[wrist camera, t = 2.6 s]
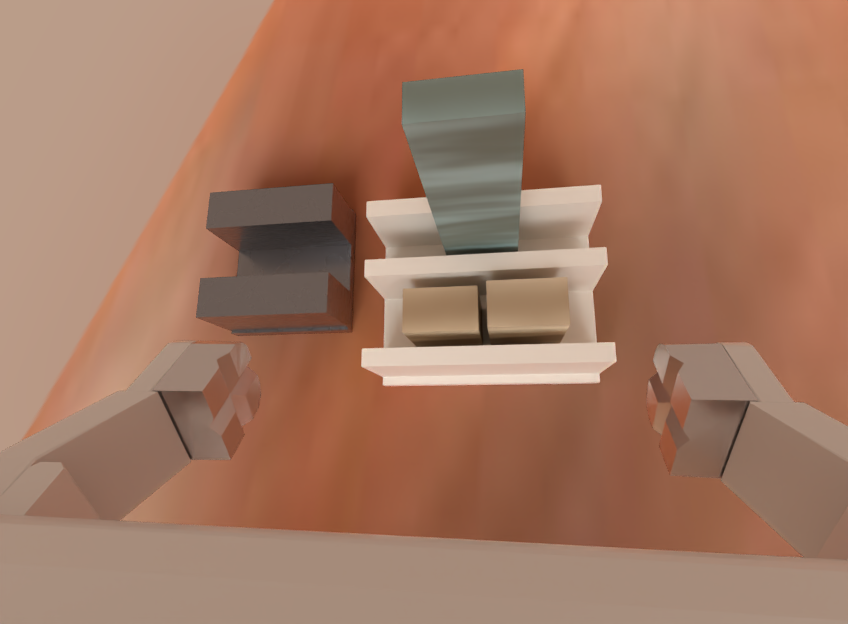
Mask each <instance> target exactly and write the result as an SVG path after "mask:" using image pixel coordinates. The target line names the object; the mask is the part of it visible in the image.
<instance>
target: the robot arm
mask: <svg viewBox="0 0 848 624" xmlns="http://www.w3.org/2000/svg"><path fill="white" fill-rule="evenodd" d="M250 360H251V355H250V352H249V350H248V347H247V345H245V344H244V343H242V342H225V341H173V342H170V343H168V344H167V345H166V346H165V347H164V348H163V350H162V351H161V352H160V353H159V354H158V355H157V356H156V357H155V359H154V360H153V361H152V362H151V363H150V364H149V365H148V366H147V368H146V369H145V370H144V371H143V372H142V373H141V374H140V375H139V376H138V378H137V379H136V380H135V381H134V382H133V383H132V384H131V385H130V387H129V388H128V389H127V390H126V391H117V392H115V393H113V394H111V395H109V396H108V397H106V398H104V399H102V400H100V401H98V402H96V403H94V404H92V405H90V406H88V407H86V408H84V409H82V410H80V411H78V412H76V413H75V414H73V415H71V416H69V417H67V418H65V419H63V420H61V421H59V422H57V423H55V424H53V425H51V426H49V427H47V428H45V429H43V430H42V431H40V432H38V433H36V434H34V435H32V436H30V437H28V438H26V439H24V440H22V441H20V442H18V443H16V444H15V445H12V446H10V447H9V448H7V449H5V450H3V451H1V452H0V624H848V426H846V425H844V424H843V423H841V422H839V421H837V420H835V419H833V418H832V417H830V416H828V415H826V414H824V413H822V412H821V411H819V410H817V409H815V408H813V407H811V406H810V405H808V404H806V403H802V402H794V401H793V400H792V398H791V397H790V395H789V394H788V393H787V391H786V390H785V389H784V387H783V386H782V385H781V383H780V382H779V380H778V379H777V378H776V376H775V375H774V374H773V372H772V371H771V370H770V368H769V367H768V366H767V364H766V363H765V361H764V360H763V359H762V357H761V356H760V355H759V353H758V352H757V351H756V349H755V348H754V346H753V345H751V344H749V343H748V342H723V343H716V344H659V345H658V347H657V348H656V350H655V355H654V359H653V362H654V365H655V367H656V369H657V373H656V374H655V375H654V376H652V377H651V378H650V379H649V382H648V388H647V411H648V416H649V420H650V423H651V425H652V428H653V429H654V430H656V431H657V432H658V433H659V434H661V435H662V436H661V441H660V445H659V448H660V450H661V453H662V456H663V458H664V461H665V464H666V466H667V469H668V472H669V474H670V475H671V476H688V477H704V478H721V481H722V482H723V483H724V484H725V485H726V486H727V487H728V488H729V489H730V490H731V491H732V492H733V493H735V494H736V495H737V496H738V497H739V498H740V499H741V500H742V501H743V502H744V503H745V504H746V505H748V506H749V507H750V508H751V509H752V510H753V511H754V512H755V513H756V514H757V515H758V516H760V517H761V518H762V519H763V520H764V521H765V522H766V523H767V524H768V525H769V526H770V527H771V528H773V529H774V530H775V531H776V532H777V533H778V534H779V535H780V536H781V537H782V538H783V539H784V540H786V541H787V542H788V543H789V544H790V545H791V546H792V547H793V548H794V549H795V550H796V551H797V552H799V553H800V554H801V555H802V556H803V557H787V556H768V555H749V554H731V553H712V552H693V551H675V550H656V549H637V548H619V547H601V546H582V545H564V544H545V543H527V542H508V541H490V540H472V539H453V538H434V537H416V536H397V535H378V534H360V533H341V532H322V531H304V530H285V529H266V528H248V527H229V526H210V525H192V524H173V523H155V522H136V521H120V520H121V519H122V518H124V517H125V516H126V515H127V514H128V513H130V512H131V511H132V510H133V509H134V508H136V507H137V506H138V505H139V504H141V503H142V502H143V501H144V500H145V499H147V498H148V497H149V496H150V495H151V494H153V493H154V492H155V491H156V490H157V489H159V488H160V487H161V486H162V485H163V484H165V483H166V482H167V481H168V480H170V479H171V478H172V477H173V476H174V475H176V474H177V473H178V472H179V471H180V470H182V469H183V468H184V467H185V466H186V465H188V464H189V463H190V462H191V460H231V459H232V457H233V455H234V453H235V451H236V450H237V448H238V446H239V444H240V442H241V440H242V439H243V437H244V435H245V434H244V431H243V428H242V426H243V425H245V424H246V423H247V422H249V421H250V420H252V419H253V418H254V416H255V414H256V412H257V410H258V408H259V403H260V398H261V389H260V382H259V379H258V376H257V374H256V373H255V372H253V371H252V370H251V369H250V368H249V367H248V364H249V362H250Z"/></svg>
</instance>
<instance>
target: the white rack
mask: <svg viewBox="0 0 848 624" xmlns="http://www.w3.org/2000/svg"><path fill="white" fill-rule="evenodd" d="M601 203H602V193H601V185H589V186H575V187H561V188H547V189H533V190H521V204H520V222H519V240H518V252H504V253H485V254H466V255H448V256H446V253H445V250H444V247H443V244H442V241H441V238H440V236H439V233H438V230H437V227H436V224H435V221H434V218H433V215H432V212H431V209H430V206H429V203H428V200H427V197H422V198H408V199H394V200H380V201H367V208H366V218H367V219H368V221H369V222H370V224H371V225H372V227H373V228H374V230H375V231H376V233H377V235H378V236H379V238H380V239H381V241H382V242H383V244H384V245H385V247H386V259H373V260H365V270H364V277H365V278H366V279H367V280H368V281H369V282H370V283H371V285H372V286H373V287H374V288H375V289H376V290H377V291H378V292H379V293H380V295H381V296H382V297H383V298H384V299H385V310H384V348H364V349H362V363H361V367H363V368H365V369H367V370H369V371H372V372H374V373H376V374H378V375H380V376H382V377H383V385H384V386H434V385H508V384H583V383H599V382H600V375H599V373H601V372H602V371H604V370H605V369H607V368H608V367H610V366H611V365H612V364H614V363H615V362H617V361H616V349H615V342H601V343H597V338H596V325H595V313H594V301H593V290H594V288H595V286H596V284H597V283H598V281H599V279H600V277H601V276H602V274H603V272H604V271H605V269H606V267H607V265H608V260H607V249H606V247H597V248H589V239H588V236H589V233H590V231H591V228H592V226H593V223H594V221H595V218H596V216H597V213H598V211H599V208H600V206H601ZM557 277H567V281H568V295H569V310H570V326H569V328H568V330H567V331H566V333H565V335H564V337H563V339H562V340H561V342H560V344H522V345H491V343H490V338H489V332H488V326H487V291H486V281H491V280H513V279H535V278H557ZM454 286H478V291H479V296H480V301H481V306H482V330H483V345H482V346H443V347H416V346H415V345H414V344H413V343H412V342H411V341H410V340H409V339H408V338H407V337H406V336H405V335H404V334H403V333H402V312H403V289H408V288H431V287H454Z"/></svg>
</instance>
